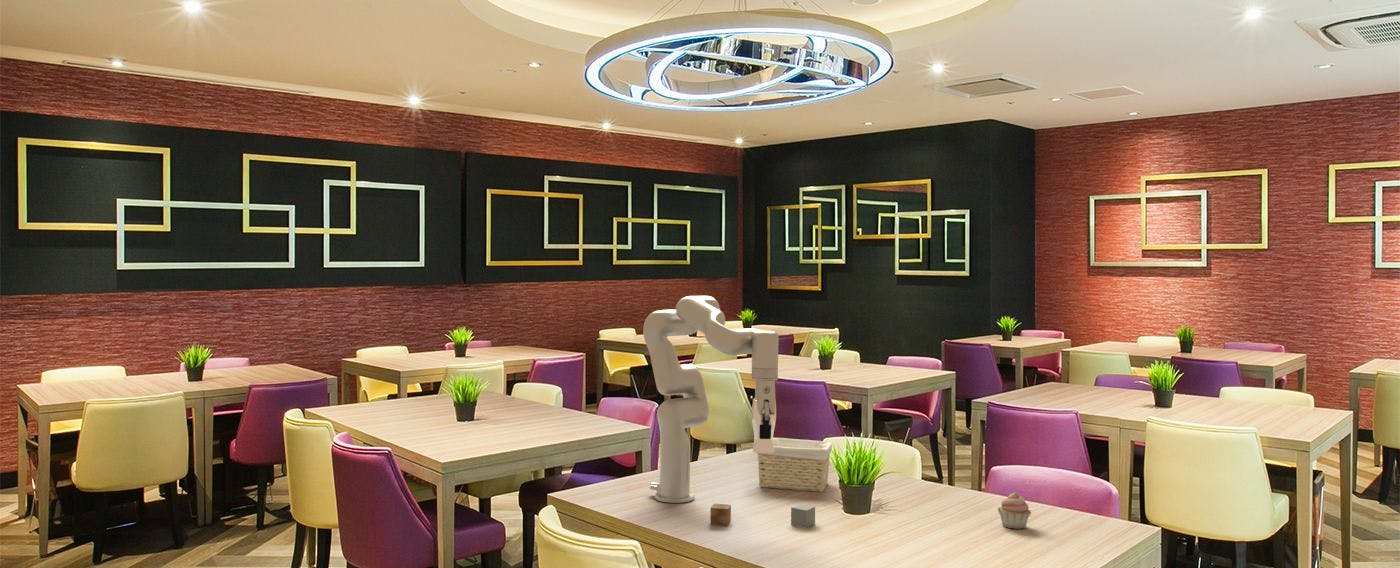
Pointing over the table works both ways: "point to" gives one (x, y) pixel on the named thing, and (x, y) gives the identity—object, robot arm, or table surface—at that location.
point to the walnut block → (720, 514)
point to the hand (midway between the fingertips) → (763, 435)
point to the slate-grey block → (802, 515)
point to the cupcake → (1014, 512)
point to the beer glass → (759, 444)
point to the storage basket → (795, 465)
